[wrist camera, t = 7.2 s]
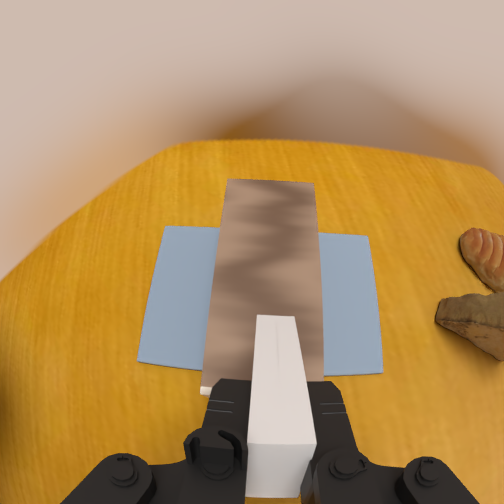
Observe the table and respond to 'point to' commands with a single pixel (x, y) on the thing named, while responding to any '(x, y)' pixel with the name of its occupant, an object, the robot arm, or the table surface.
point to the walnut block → (264, 276)
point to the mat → (199, 293)
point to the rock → (476, 320)
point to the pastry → (485, 256)
